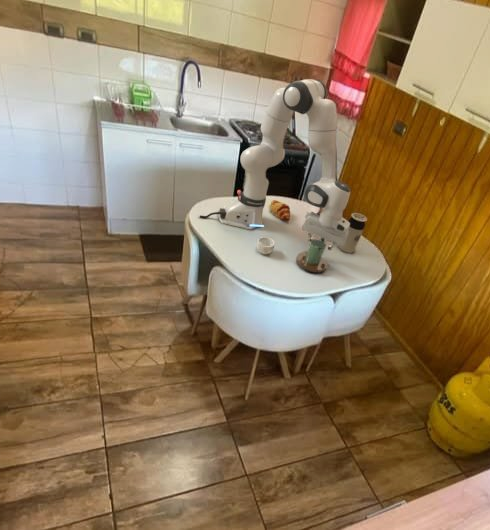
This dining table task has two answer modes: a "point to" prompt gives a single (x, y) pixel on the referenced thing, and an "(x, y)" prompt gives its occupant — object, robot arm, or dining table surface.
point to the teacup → (265, 245)
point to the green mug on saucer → (313, 257)
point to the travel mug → (354, 232)
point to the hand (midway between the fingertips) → (319, 245)
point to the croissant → (280, 210)
